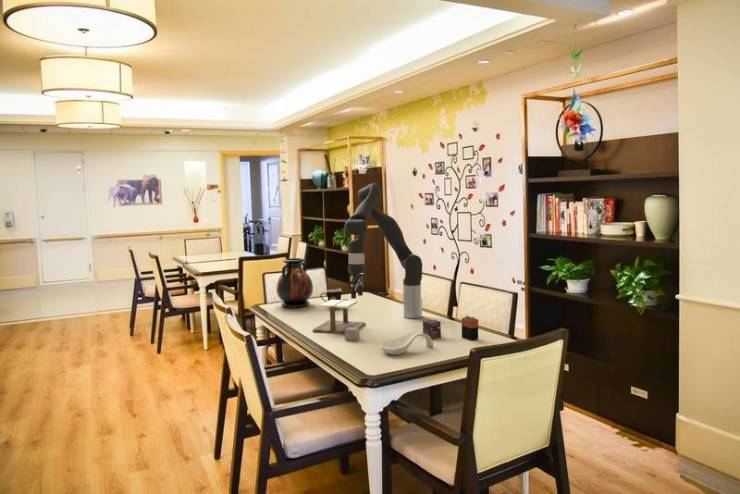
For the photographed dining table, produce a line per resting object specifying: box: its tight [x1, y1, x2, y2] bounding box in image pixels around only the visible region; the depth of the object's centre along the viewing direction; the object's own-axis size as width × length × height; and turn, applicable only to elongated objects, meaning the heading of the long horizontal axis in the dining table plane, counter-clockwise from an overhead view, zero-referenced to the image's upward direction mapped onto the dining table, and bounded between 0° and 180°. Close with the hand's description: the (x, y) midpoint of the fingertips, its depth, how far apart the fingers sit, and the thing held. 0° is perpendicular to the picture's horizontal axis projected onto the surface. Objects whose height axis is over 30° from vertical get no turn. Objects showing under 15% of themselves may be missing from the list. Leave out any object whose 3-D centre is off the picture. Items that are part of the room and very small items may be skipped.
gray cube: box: [344, 327, 360, 342], centre depth 247 cm, size 5×5×5 cm
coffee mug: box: [320, 288, 342, 310], centre depth 318 cm, size 12×9×10 cm
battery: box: [461, 315, 479, 342], centre depth 244 cm, size 4×7×10 cm, turn 31°
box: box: [422, 319, 442, 340], centre depth 248 cm, size 6×6×7 cm
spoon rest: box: [379, 331, 435, 356], centre depth 227 cm, size 24×12×7 cm, turn 118°
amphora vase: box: [276, 257, 314, 309], centre depth 324 cm, size 22×22×28 cm
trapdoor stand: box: [312, 298, 366, 335], centre depth 268 cm, size 20×20×13 cm
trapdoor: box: [319, 299, 358, 310], centre depth 267 cm, size 14×14×1 cm
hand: (357, 297), depth 257 cm, fingers open, 8 cm apart
